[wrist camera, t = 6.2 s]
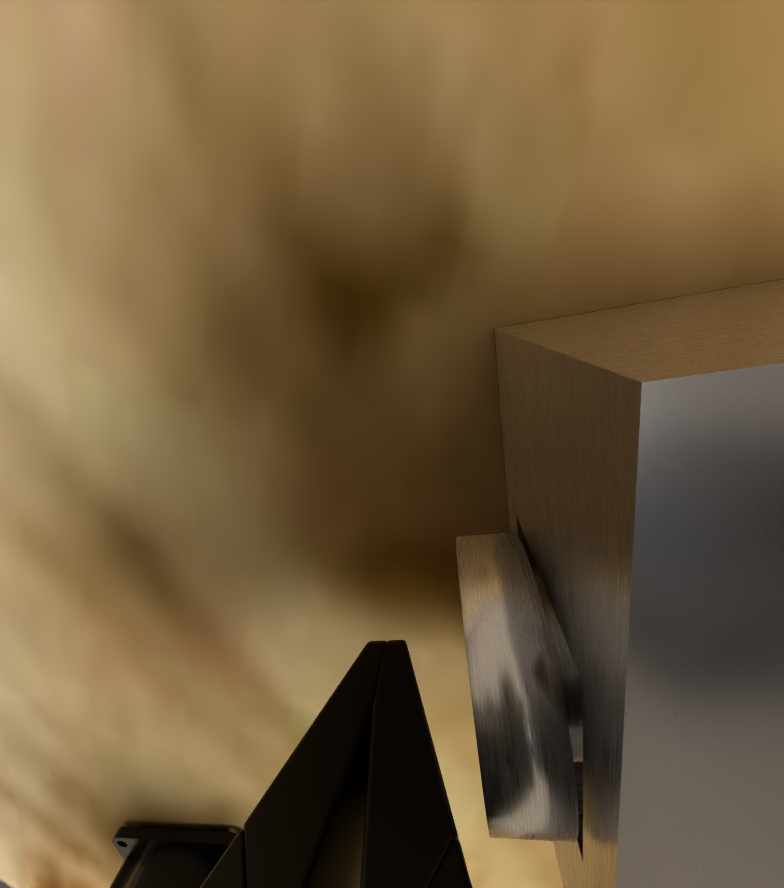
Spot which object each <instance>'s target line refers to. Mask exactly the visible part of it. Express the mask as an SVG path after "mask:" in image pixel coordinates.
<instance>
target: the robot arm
mask: <svg viewBox="0 0 784 888" xmlns="http://www.w3.org/2000/svg"><path fill="white" fill-rule="evenodd" d="M112 842H113V844H114V845H115V847H116V848H117V850H118V851H119V852H120V854H121V855H122V856H123V858H124V859H125V861H124V863H123V865H122V867H121V869H120V870H119V872H118V874H117V876H116V877H115V879H114V881H113V883H112V885H111V886H110V888H472V885H471V881H470V878H469V874H468V871H467V867H466V863H465V859H464V856H463V852H462V848H461V844H460V842H459V839H458V834H457V830H456V827H455V823H454V819H453V816H452V812H451V808H450V804H449V801H448V797H447V793H446V789H445V786H444V782H443V778H442V774H441V771H440V767H439V763H438V760H437V756H436V752H435V748H434V745H433V741H432V737H431V733H430V730H429V726H428V722H427V718H426V715H425V711H424V707H423V704H422V700H421V696H420V692H419V689H418V685H417V681H416V677H415V674H414V670H413V666H412V662H411V659H410V655H409V651H408V648H407V644H406V642H405V641H404V640H390V641H370V642H368V643H367V644H366V646H365V647H364V648H363V650H362V651H361V653H360V654H359V656H358V657H357V659H356V660H355V662H354V663H353V665H352V666H351V668H350V669H349V671H348V672H347V673H346V675H345V676H344V678H343V679H342V681H341V682H340V684H339V685H338V687H337V688H336V690H335V691H334V693H333V694H332V696H331V697H330V698H329V700H328V701H327V703H326V704H325V706H324V707H323V709H322V710H321V712H320V713H319V715H318V716H317V718H316V719H315V721H314V722H313V724H312V725H311V726H310V728H309V729H308V731H307V732H306V734H305V735H304V737H303V738H302V740H301V741H300V743H299V744H298V746H297V747H296V749H295V750H294V751H293V753H292V754H291V756H290V757H289V759H288V760H287V762H286V763H285V765H284V766H283V768H282V769H281V771H280V772H279V774H278V775H277V776H276V778H275V779H274V781H273V782H272V784H271V785H270V787H269V788H268V790H267V791H266V793H265V794H264V796H263V797H262V799H261V800H260V801H259V803H258V804H257V806H256V807H255V809H254V810H253V812H252V813H251V815H250V816H249V818H248V819H247V821H246V822H245V824H244V830H243V829H242V830H240V831H239V832H238V833H237V834H235V833H232V832H218V831H199V830H181V829H162V828H143V827H120V828H119V829H118V831H117V833H116V834H115V836H114V838H113V839H112Z"/></svg>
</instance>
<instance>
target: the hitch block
mask: <svg viewBox="0 0 784 888" xmlns="http://www.w3.org/2000/svg"><path fill="white" fill-rule="evenodd" d="M494 334H495V347H496V359H497V372H498V385H499V398H500V411H501V424H502V436H503V449H504V462H505V475H506V488H507V501H508V513H509V526H510V532H515V533H516V534H517V535H518V537H519V538H520V540H521V542H522V544H523V547H524V549H525V552H526V554H527V557H528V560H529V562H530V565H531V568H532V571H533V575H534V576H541V579H542V581H543V584H544V586H545V589H546V591H547V594H548V597H549V599H550V602H551V604H552V607H553V609H554V612H555V615H556V617H557V620H558V622H559V625H560V627H561V630H562V632H563V635H564V638H565V640H566V643H567V645H568V648H569V650H570V653H571V655H572V658H573V661H574V663H575V666H576V668H577V671H578V673H579V676H580V678H581V681H582V684H583V762H574V768H575V777H576V785H577V796H578V809H579V833H578V838H577V840H576V841H575V842H566V841H553V842H554V846H555V851H556V855H557V860H558V864H559V869H560V873H561V878H562V882H563V887H564V888H784V279H781V280H775V281H770V282H764V283H758V284H752V285H746V286H740V287H735V288H729V289H723V290H717V291H711V292H705V293H699V294H694V295H688V296H682V297H676V298H670V299H664V300H659V301H653V302H647V303H641V304H635V305H629V306H623V307H618V308H612V309H606V310H600V311H594V312H588V313H583V314H577V315H571V316H565V317H559V318H553V319H547V320H542V321H536V322H530V323H524V324H518V325H512V326H507V327H501V328H495V329H494Z"/></svg>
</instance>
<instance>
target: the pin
mask: <svg viewBox="0 0 784 888" xmlns="http://www.w3.org/2000/svg"><path fill="white" fill-rule="evenodd" d="M456 553H457V565H458V576H459V586H460V596H461V606H462V616H463V625H464V634H465V644H466V653H467V662H468V671H469V680H470V688H471V697H472V706H473V714H474V722H475V731H476V739H477V747H478V755H479V763H480V771H481V779H482V787H483V794H484V802H485V809H486V816H487V823H488V829H489V835H490V838H505V839H525V840H546V841H566V842H575V841H576V840H577V838H578V833H579V809H578V796H577V785H576V777H575V768H574V762H583V684H582V681H581V678H580V676H579V673H578V671H577V668H576V666H575V663H574V661H573V658H572V655H571V653H570V650H569V648H568V645H567V643H566V640H565V638H564V635H563V632H562V630H561V627H560V625H559V622H558V620H557V617H556V615H555V612H554V609H553V607H552V604H551V602H550V599H549V597H548V594H547V591H546V589H545V586H544V584H543V581H542V579H541V576H534V575H533V571H532V568H531V565H530V562H529V560H528V557H527V554H526V552H525V549H524V547H523V544H522V542H521V540H520V538H519V537H518V535H517V534H516V533H515V532H510V533H498V534H485V535H473V536H461V537H456Z"/></svg>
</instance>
